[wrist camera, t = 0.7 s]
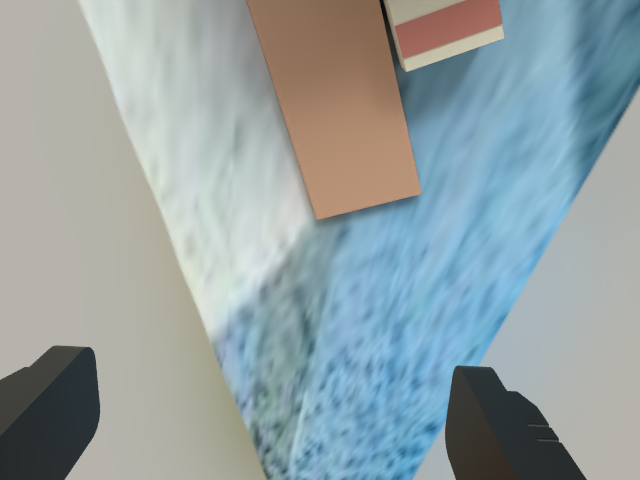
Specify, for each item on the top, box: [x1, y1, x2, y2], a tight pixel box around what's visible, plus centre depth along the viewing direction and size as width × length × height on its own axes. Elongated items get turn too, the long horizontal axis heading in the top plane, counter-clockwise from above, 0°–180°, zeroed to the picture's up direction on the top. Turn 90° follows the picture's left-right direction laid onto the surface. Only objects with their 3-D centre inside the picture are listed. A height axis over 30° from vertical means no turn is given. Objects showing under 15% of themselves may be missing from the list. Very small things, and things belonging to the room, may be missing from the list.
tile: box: [247, 0, 422, 220], centre depth 29 cm, size 14×7×1 cm, turn 16°
